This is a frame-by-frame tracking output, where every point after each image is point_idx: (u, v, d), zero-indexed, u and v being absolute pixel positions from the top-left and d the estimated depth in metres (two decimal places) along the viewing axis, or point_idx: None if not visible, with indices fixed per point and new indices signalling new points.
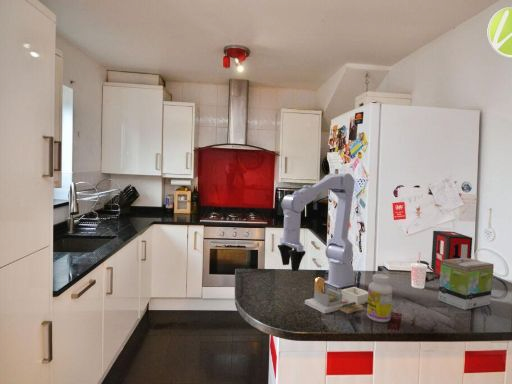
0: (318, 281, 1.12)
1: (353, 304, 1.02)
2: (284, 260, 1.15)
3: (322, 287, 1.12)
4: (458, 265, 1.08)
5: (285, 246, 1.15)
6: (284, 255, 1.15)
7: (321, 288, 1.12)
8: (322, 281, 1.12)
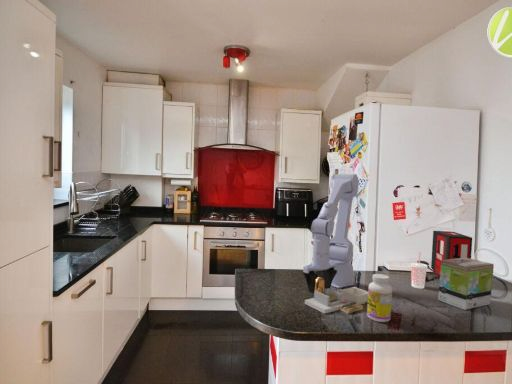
0: (318, 281, 1.12)
1: (353, 304, 1.02)
2: (325, 284, 1.16)
3: (322, 287, 1.12)
4: (458, 265, 1.07)
5: (326, 270, 1.16)
6: (325, 278, 1.16)
7: (321, 288, 1.12)
8: (322, 281, 1.12)
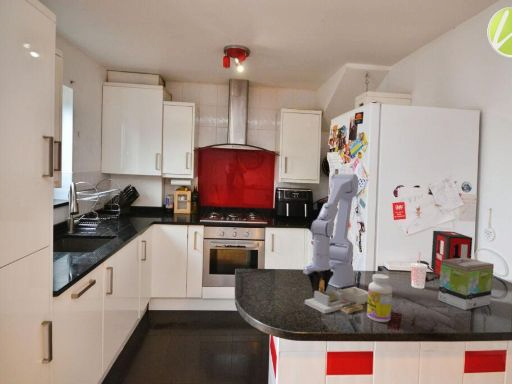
0: None
1: (353, 304, 1.02)
2: None
3: (322, 287, 1.12)
4: (458, 265, 1.08)
5: (323, 271, 1.15)
6: None
7: (321, 288, 1.12)
8: (322, 281, 1.12)
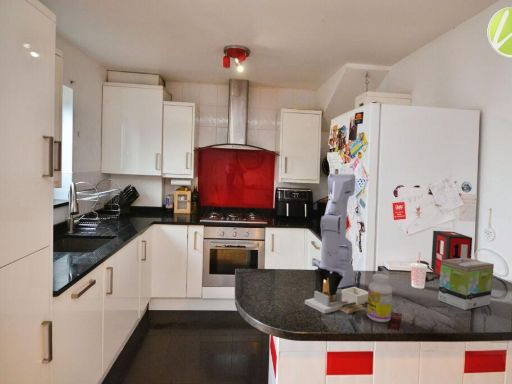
0: None
1: (353, 304, 1.02)
2: None
3: None
4: (458, 265, 1.07)
5: (324, 271, 1.06)
6: None
7: None
8: None
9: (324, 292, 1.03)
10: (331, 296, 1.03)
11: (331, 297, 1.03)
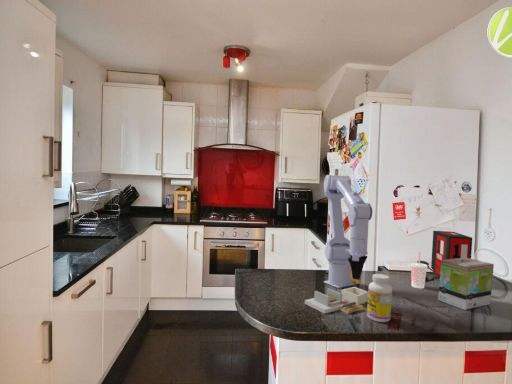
0: None
1: (353, 304, 1.02)
2: None
3: None
4: (458, 265, 1.07)
5: None
6: None
7: None
8: None
9: None
10: (355, 280, 1.08)
11: (355, 281, 1.08)
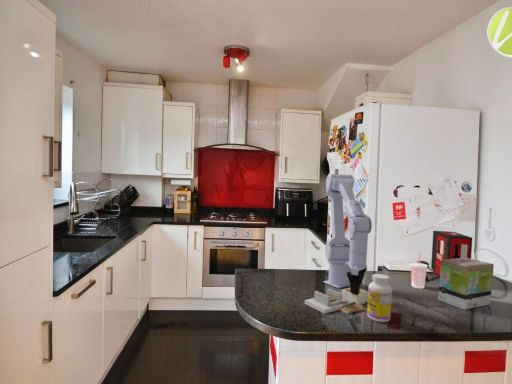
0: None
1: (353, 304, 1.02)
2: None
3: None
4: (458, 265, 1.08)
5: None
6: None
7: (359, 291, 1.09)
8: None
9: None
10: None
11: None
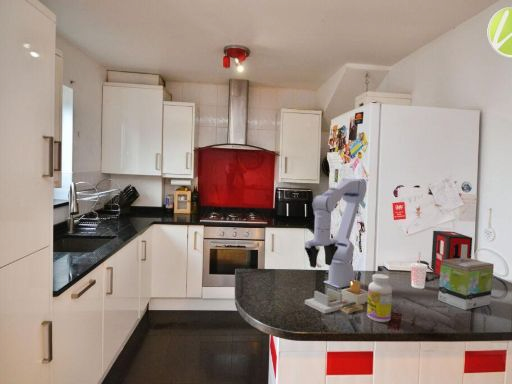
0: (357, 284, 1.08)
1: (353, 304, 1.02)
2: (327, 260, 1.18)
3: None
4: (458, 265, 1.08)
5: (328, 246, 1.18)
6: (326, 254, 1.18)
7: (359, 291, 1.09)
8: (360, 283, 1.09)
9: None
10: None
11: None
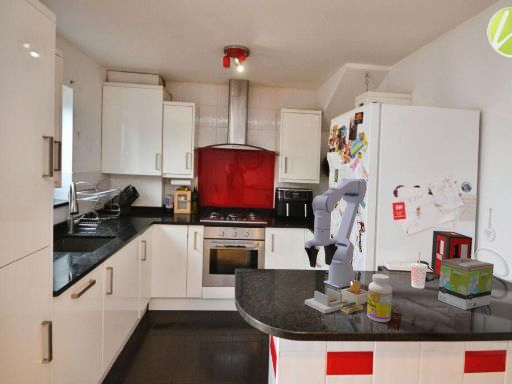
0: (357, 284, 1.08)
1: (353, 304, 1.02)
2: (326, 260, 1.18)
3: None
4: (458, 265, 1.07)
5: (327, 246, 1.18)
6: (326, 254, 1.18)
7: (359, 291, 1.09)
8: (360, 283, 1.09)
9: None
10: None
11: None
